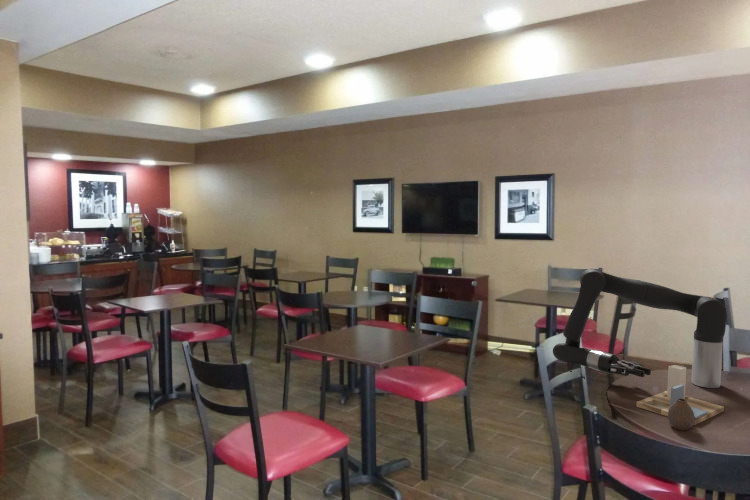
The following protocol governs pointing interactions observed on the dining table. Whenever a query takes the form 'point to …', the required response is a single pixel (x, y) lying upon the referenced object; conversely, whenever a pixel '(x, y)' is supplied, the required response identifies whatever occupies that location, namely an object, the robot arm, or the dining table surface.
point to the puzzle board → (662, 405)
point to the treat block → (676, 378)
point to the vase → (681, 415)
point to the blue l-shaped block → (679, 393)
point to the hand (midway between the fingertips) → (646, 373)
